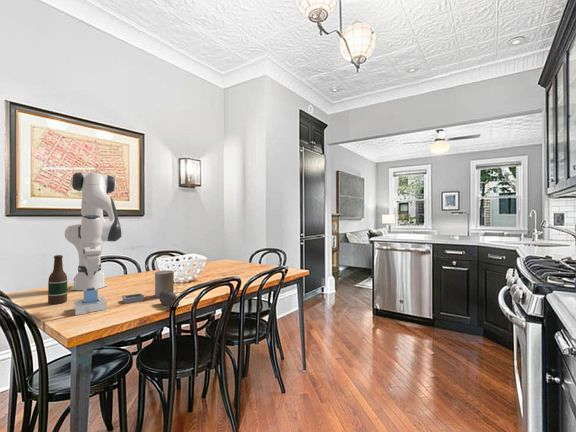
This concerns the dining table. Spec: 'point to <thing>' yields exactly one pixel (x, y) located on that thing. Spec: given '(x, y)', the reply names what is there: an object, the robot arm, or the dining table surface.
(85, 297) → the plug
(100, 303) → the block
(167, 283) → the pillar candle
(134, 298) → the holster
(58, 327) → the dining table surface
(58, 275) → the beer bottle
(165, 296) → the perforated stone tool
